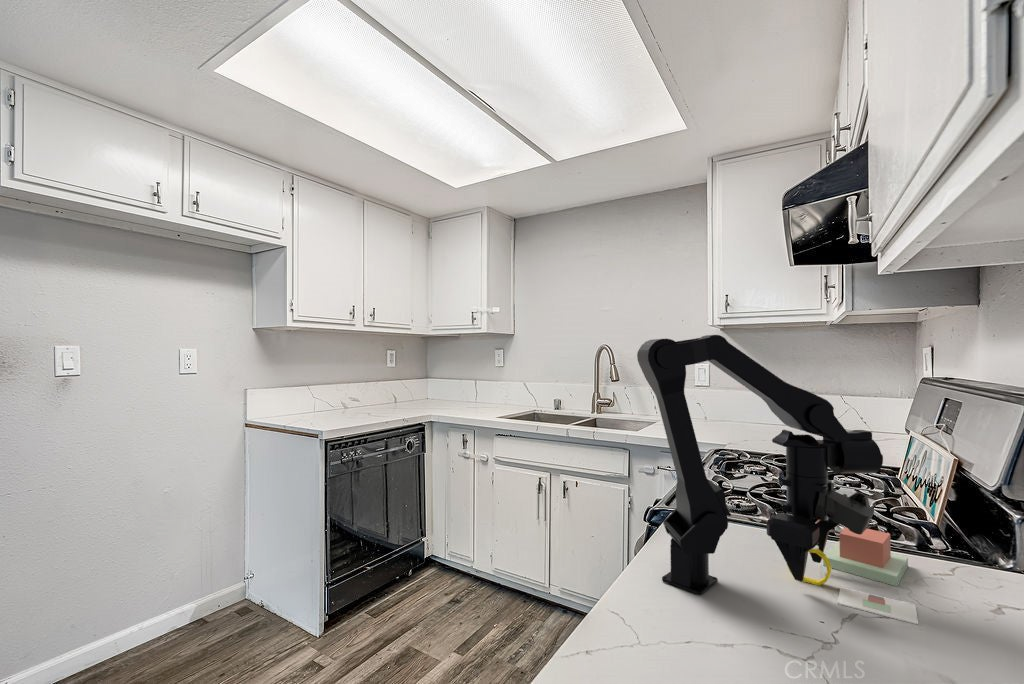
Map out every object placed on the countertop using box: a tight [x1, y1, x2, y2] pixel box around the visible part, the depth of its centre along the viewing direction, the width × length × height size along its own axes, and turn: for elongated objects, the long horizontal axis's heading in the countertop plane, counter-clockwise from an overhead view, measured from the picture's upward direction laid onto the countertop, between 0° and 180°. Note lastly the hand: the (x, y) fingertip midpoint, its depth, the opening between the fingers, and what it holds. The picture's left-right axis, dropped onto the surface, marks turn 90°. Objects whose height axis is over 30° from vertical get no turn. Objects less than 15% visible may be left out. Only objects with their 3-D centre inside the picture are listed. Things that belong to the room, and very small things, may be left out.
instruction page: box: [837, 586, 919, 626], centre depth 70 cm, size 6×9×1 cm, turn 53°
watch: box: [786, 545, 832, 587], centre depth 78 cm, size 6×3×6 cm, turn 49°
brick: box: [838, 527, 892, 568], centre depth 83 cm, size 6×6×4 cm
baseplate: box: [822, 540, 909, 587], centre depth 83 cm, size 10×10×2 cm
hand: (808, 570), depth 78 cm, fingers open, 9 cm apart
